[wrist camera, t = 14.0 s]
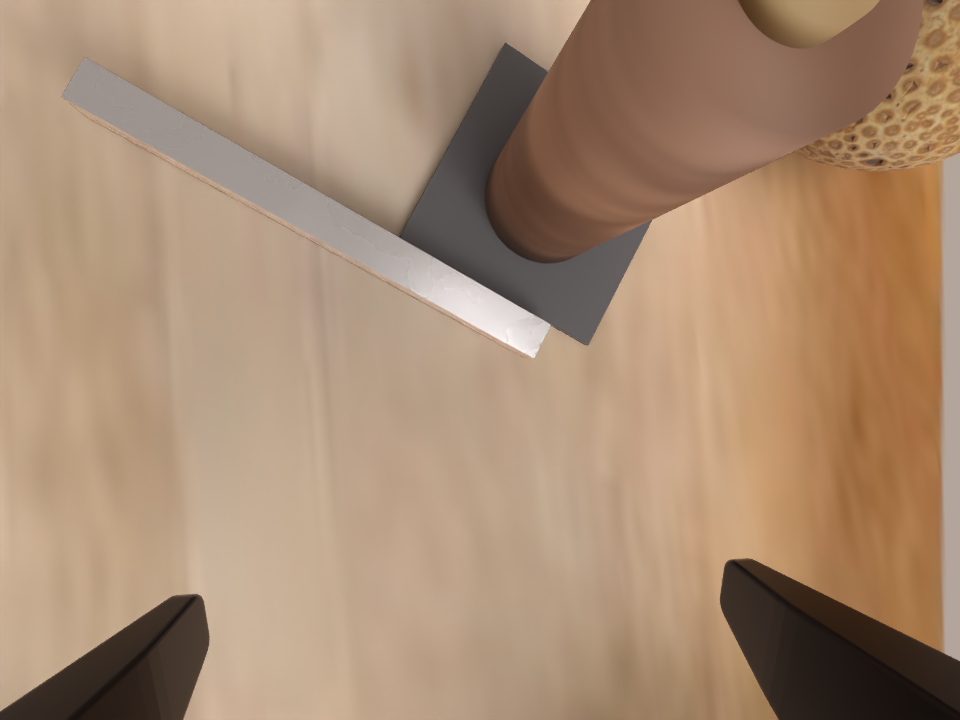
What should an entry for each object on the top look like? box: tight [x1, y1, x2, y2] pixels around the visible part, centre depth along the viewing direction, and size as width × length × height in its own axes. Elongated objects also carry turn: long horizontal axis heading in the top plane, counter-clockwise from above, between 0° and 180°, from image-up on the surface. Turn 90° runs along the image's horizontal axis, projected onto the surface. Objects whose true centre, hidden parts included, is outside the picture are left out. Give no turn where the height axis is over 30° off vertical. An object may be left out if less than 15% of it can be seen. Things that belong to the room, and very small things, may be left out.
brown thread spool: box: [485, 0, 923, 264], centre depth 14 cm, size 5×5×13 cm
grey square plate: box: [400, 43, 652, 345], centre depth 20 cm, size 9×9×1 cm
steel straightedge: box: [61, 58, 551, 358], centre depth 18 cm, size 18×2×2 cm, turn 62°
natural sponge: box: [794, 0, 960, 172], centre depth 18 cm, size 9×9×10 cm
